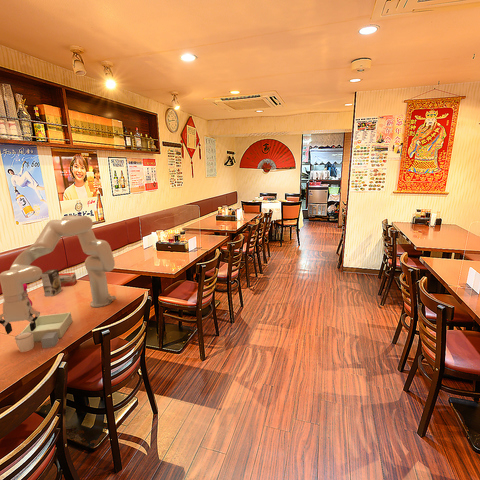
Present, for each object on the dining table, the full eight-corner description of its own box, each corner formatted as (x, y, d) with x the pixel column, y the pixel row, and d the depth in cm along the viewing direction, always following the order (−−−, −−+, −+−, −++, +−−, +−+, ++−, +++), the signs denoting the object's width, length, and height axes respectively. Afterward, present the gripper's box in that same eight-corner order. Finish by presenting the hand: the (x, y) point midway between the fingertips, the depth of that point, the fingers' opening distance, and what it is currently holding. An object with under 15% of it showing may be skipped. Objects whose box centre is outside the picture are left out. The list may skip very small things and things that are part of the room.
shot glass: (21, 354, 130) (18, 341, 129) (15, 349, 134) (12, 336, 132) (38, 346, 136) (35, 333, 134) (31, 342, 139) (28, 329, 138)
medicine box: (50, 288, 205) (48, 278, 203) (55, 284, 212) (53, 274, 210) (73, 286, 208) (71, 276, 206) (77, 282, 215) (75, 272, 213)
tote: (72, 321, 159) (70, 312, 157) (61, 338, 142) (59, 328, 141) (37, 325, 155) (35, 316, 153) (22, 343, 139) (19, 333, 137)
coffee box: (54, 296, 191) (49, 273, 187) (44, 296, 191) (40, 274, 187) (62, 290, 200) (58, 269, 196) (53, 290, 200) (49, 269, 196)
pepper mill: (25, 315, 166) (18, 283, 162) (15, 314, 168) (8, 282, 163) (36, 309, 173) (30, 278, 168) (27, 308, 175) (20, 278, 170)
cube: (58, 340, 140) (56, 331, 139) (54, 346, 136) (52, 337, 134) (47, 342, 139) (45, 333, 138) (42, 348, 135) (40, 339, 133)
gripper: (39, 292, 134) (45, 324, 137) (-3, 295, 130) (4, 329, 134) (32, 298, 127) (38, 332, 130) (-13, 302, 123) (-5, 338, 127)
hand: (21, 331), depth 132 cm, fingers open, 9 cm apart
